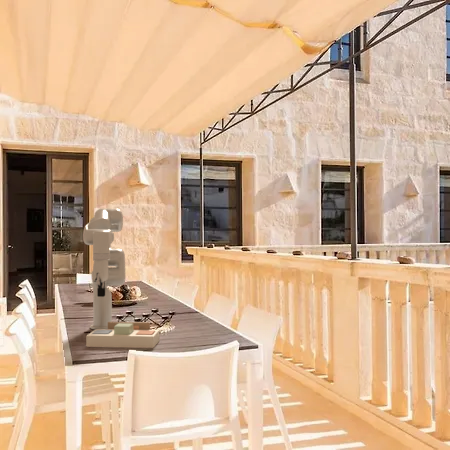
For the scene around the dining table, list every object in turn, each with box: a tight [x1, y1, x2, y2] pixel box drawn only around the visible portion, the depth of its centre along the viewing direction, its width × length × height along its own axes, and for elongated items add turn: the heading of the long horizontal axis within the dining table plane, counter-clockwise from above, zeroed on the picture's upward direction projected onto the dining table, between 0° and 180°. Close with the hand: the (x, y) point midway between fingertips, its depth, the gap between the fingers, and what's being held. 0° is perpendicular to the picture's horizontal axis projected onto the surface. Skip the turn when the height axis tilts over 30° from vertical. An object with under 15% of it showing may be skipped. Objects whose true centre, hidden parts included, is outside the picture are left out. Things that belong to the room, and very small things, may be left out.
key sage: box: [114, 323, 133, 335], centre depth 231 cm, size 7×7×4 cm
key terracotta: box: [136, 330, 155, 335], centre depth 230 cm, size 7×7×4 cm
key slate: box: [92, 329, 112, 334], centre depth 232 cm, size 7×7×4 cm
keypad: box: [85, 321, 161, 349], centre depth 232 cm, size 30×17×8 cm, turn 86°
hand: (101, 296), depth 237 cm, fingers closed
